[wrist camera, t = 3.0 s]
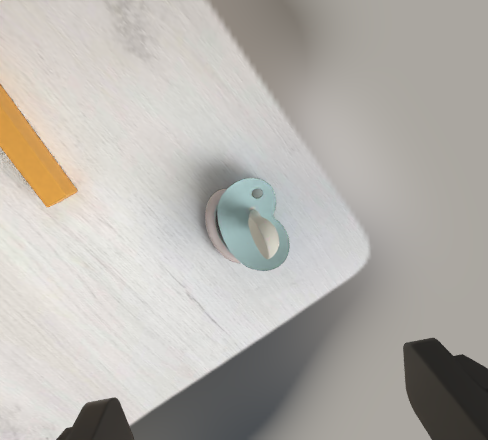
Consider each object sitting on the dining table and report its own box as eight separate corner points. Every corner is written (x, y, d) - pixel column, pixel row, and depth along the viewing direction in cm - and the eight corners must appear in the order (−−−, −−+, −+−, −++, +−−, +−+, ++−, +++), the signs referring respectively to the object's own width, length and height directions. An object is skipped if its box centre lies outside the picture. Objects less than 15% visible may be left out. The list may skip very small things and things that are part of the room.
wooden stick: (-54, 52, 22) (-78, 46, 20) (-33, 38, 21) (-56, 30, 20) (59, 202, 25) (46, 208, 23) (78, 191, 25) (66, 196, 23)
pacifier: (224, 270, 27) (292, 250, 27) (219, 313, 21) (306, 287, 21) (193, 190, 25) (265, 166, 24) (177, 213, 19) (273, 181, 19)
